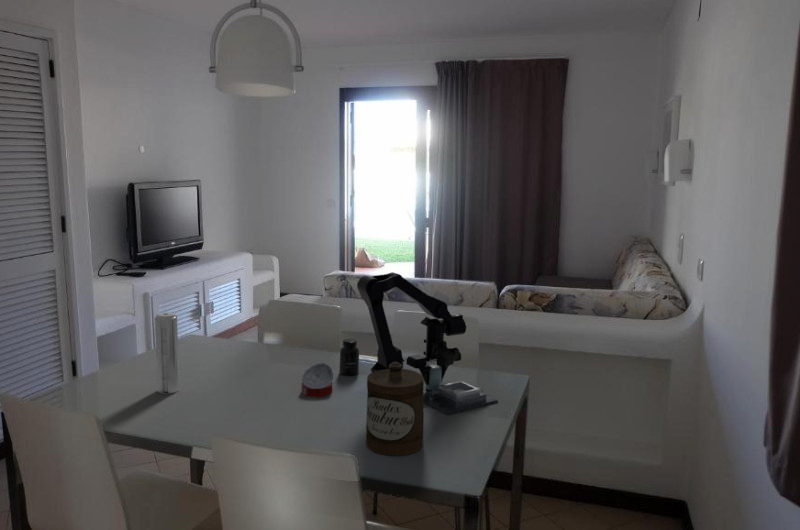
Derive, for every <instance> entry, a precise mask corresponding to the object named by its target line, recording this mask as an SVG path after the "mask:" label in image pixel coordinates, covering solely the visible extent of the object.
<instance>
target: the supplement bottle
mask: <svg viewBox="0 0 800 530" xmlns="http://www.w3.org/2000/svg"><path fill="white" fill-rule="evenodd" d="M357 341H358V340H357V339H354V338H344V339H343V340H342V346H341V348H340V349H339V350H340V351H339V367H338V368H339V371H338V372H339V374H340V375H341V376H346V377H353V375H354V376H356V374H357V375H358V374H359V371H360V368H359V367H360V349H359V347H357V345H358V344H357V343H358V342H357Z"/></svg>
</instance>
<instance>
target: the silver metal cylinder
mask: <svg viewBox="0 0 800 530" xmlns="http://www.w3.org/2000/svg"><path fill="white" fill-rule="evenodd" d="M154 333H155V334H154V335H155V338H154V339H155V363H156V384H157V385H156V386H157V387H156V389H157V393H158V394H160V395H171V394H176V393H178V391H180V375H179V373H180V372H179V370H180V368H179V344H178V343H179V340H178V339H179V337H178V316H177V315H176V313H174V312H160V313H159V312H158V313H157V314H156V315H155V317H154Z"/></svg>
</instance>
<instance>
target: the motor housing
mask: <svg viewBox="0 0 800 530" xmlns="http://www.w3.org/2000/svg"><path fill="white" fill-rule="evenodd" d="M496 403H499V400H498V399H497V398H495V397H493V396H490V395H488V394H486V393H484V390H483V388H482V387H480V386H479V387H476V386H474V385H471V384H469V383H467V382H465V381H462V380H457V381H454V382H449V383H445V384H441V385H439V388H437V389H432V390H431V394H430V395H425V396H423V404H425V405H428V406H430V407H432V408H433V409H436V410H437V411H439V412H441V413H443V414H444V415H447V416H448V415H453V414H456V413H460V412H465V411H469V410H473V409H476V408H480V407H484V406H487V405H492V404H496Z"/></svg>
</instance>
